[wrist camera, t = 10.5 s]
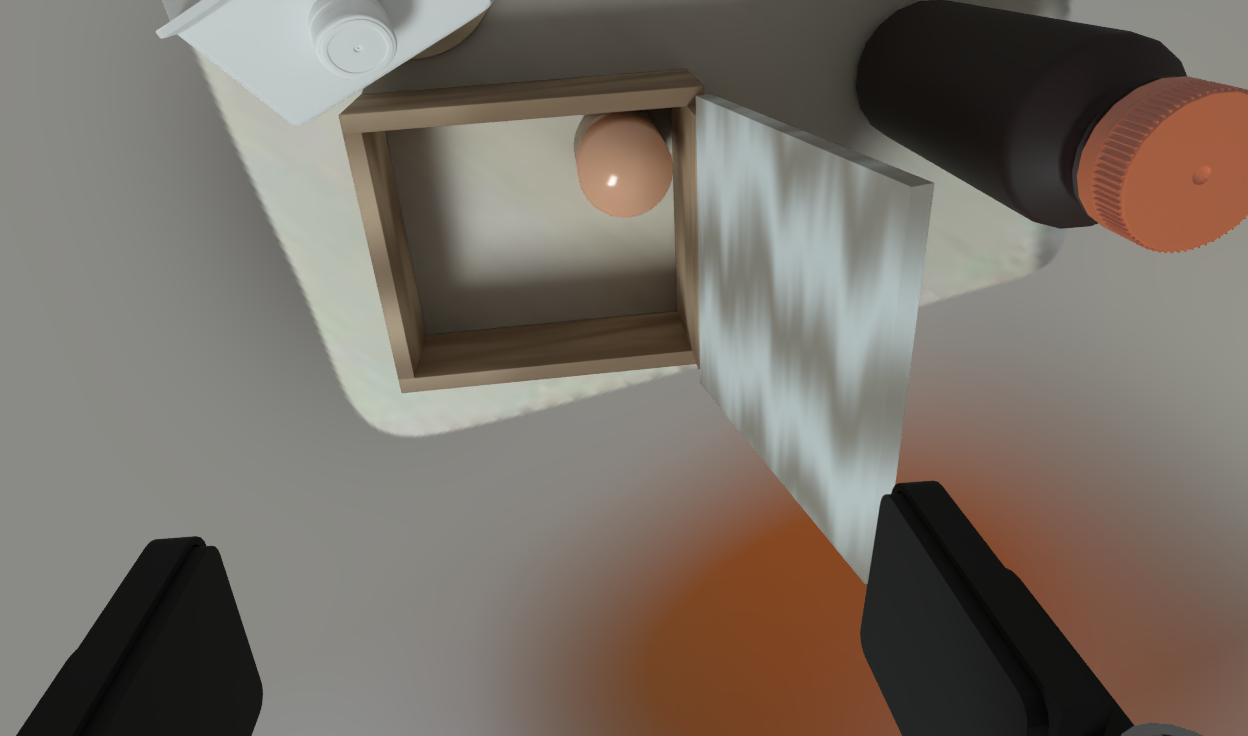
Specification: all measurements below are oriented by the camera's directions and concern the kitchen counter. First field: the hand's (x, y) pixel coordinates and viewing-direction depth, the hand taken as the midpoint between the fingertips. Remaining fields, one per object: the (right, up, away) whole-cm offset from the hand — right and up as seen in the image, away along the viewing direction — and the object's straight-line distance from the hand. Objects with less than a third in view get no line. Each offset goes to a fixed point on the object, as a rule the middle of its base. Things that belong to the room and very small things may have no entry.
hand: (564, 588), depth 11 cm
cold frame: (-2, +11, +31) cm, 33 cm away
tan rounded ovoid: (0, +15, +30) cm, 33 cm away
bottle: (+16, +18, +30) cm, 38 cm away
